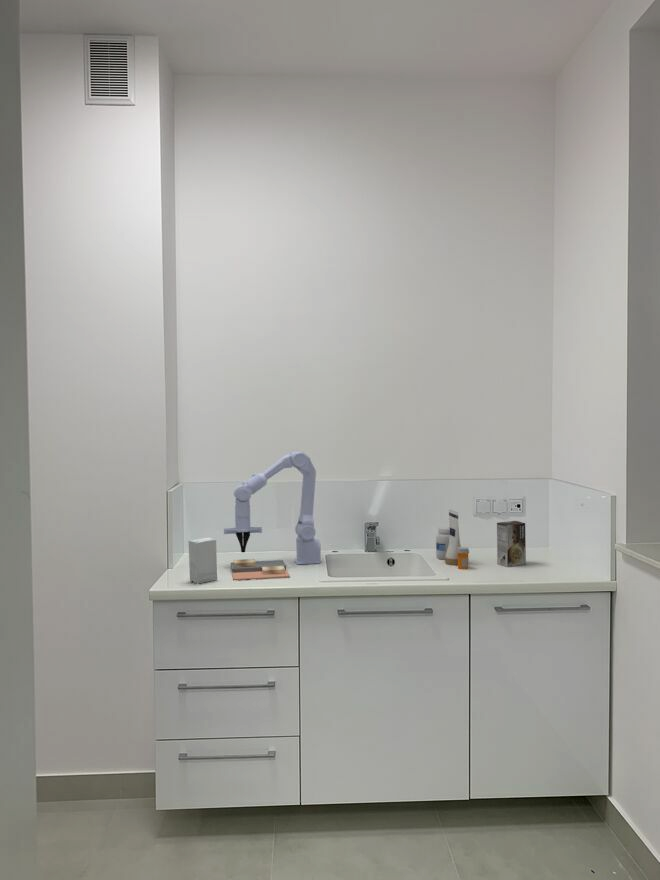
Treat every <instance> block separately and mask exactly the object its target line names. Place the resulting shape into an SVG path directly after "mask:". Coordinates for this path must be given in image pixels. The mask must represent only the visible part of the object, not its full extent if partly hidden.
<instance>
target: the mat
mask: <svg viewBox="0 0 660 880" xmlns="http://www.w3.org/2000/svg"><path fill="white" fill-rule="evenodd" d="M231 575H233V576H232V580H233V579H234V580H238V581H249V580H250V581H251V579H256V580H268V579H269V580H270V578H273V579H286V578H288V577H290V578H291V576H290V573H289V571H288V570H287V569H286V570H285V574H271V575H263V573H262V571H256V572H238V573H232V572H231ZM247 579H249V580H247ZM234 580H233V581H234Z"/></svg>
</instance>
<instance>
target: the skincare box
mask: <svg viewBox="0 0 660 880" xmlns="http://www.w3.org/2000/svg"><path fill="white" fill-rule="evenodd" d="M217 559H218V558H217V539H215V538H212V537H210V536H209V537H207V536H206V537H202V538H201V537H200V538H196V539H190V540H188V560H189V561H188V562H189V581H190V582H192V581H193V582H192V583H194V582H195V583H194V584H196V583H199V584H204V583H208V582H213V581H217V580H218V567H217V566H218V564H217V562H218V561H217Z"/></svg>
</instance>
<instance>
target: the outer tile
mask: <svg viewBox="0 0 660 880" xmlns="http://www.w3.org/2000/svg"><path fill="white" fill-rule="evenodd" d="M233 562H234V567H254V566H256V559H255V558H248V559H247V558H245V559H233Z"/></svg>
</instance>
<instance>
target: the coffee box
mask: <svg viewBox="0 0 660 880" xmlns="http://www.w3.org/2000/svg"><path fill="white" fill-rule="evenodd" d="M526 539H527V538H526V522H522V521H519V520H509V521H508V520H507V521H501V522H496V544H497V545H496V548H497V549H496V552H497V553H496V557H497V558H496V563H497V565H499V566H503V567H506V568H509V567H516V566H523V565H526V564H527V558H526V556H527V554H526V553H527V551H526V549H527V546H526V543H527V542H526Z"/></svg>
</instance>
